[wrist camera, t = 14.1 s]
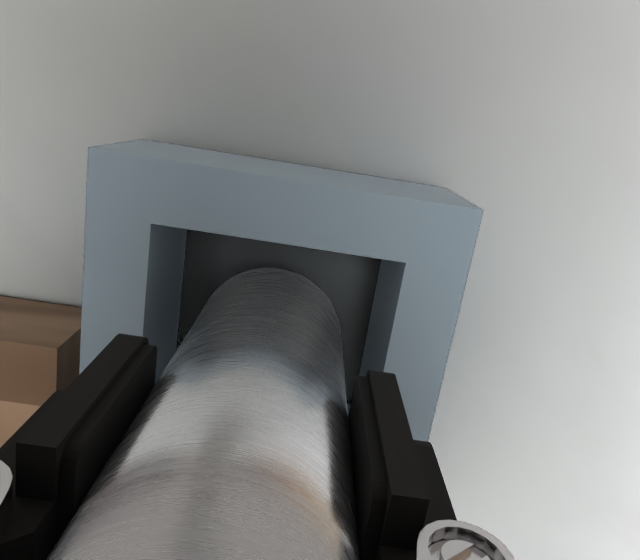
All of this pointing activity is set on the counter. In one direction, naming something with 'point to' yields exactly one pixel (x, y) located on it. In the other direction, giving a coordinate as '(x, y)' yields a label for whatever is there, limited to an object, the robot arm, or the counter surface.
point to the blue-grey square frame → (279, 227)
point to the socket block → (34, 357)
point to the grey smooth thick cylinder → (234, 440)
